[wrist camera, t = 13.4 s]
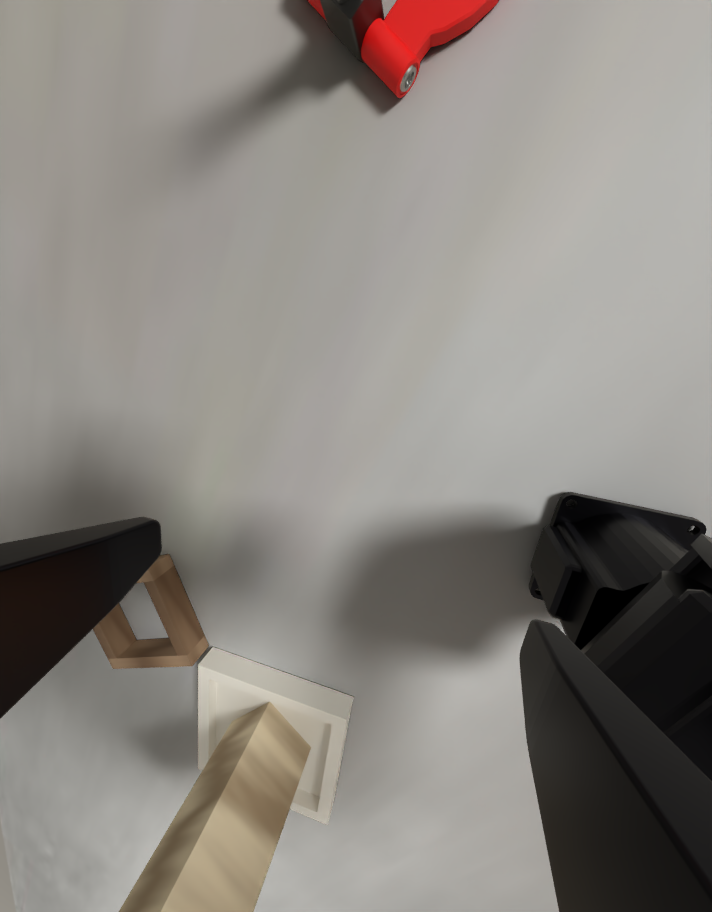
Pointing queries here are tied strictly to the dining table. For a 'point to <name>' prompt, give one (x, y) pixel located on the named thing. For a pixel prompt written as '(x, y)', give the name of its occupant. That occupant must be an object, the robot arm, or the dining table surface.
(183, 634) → the walnut collar
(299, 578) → the dining table surface
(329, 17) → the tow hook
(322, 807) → the tray
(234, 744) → the tan wooden block
